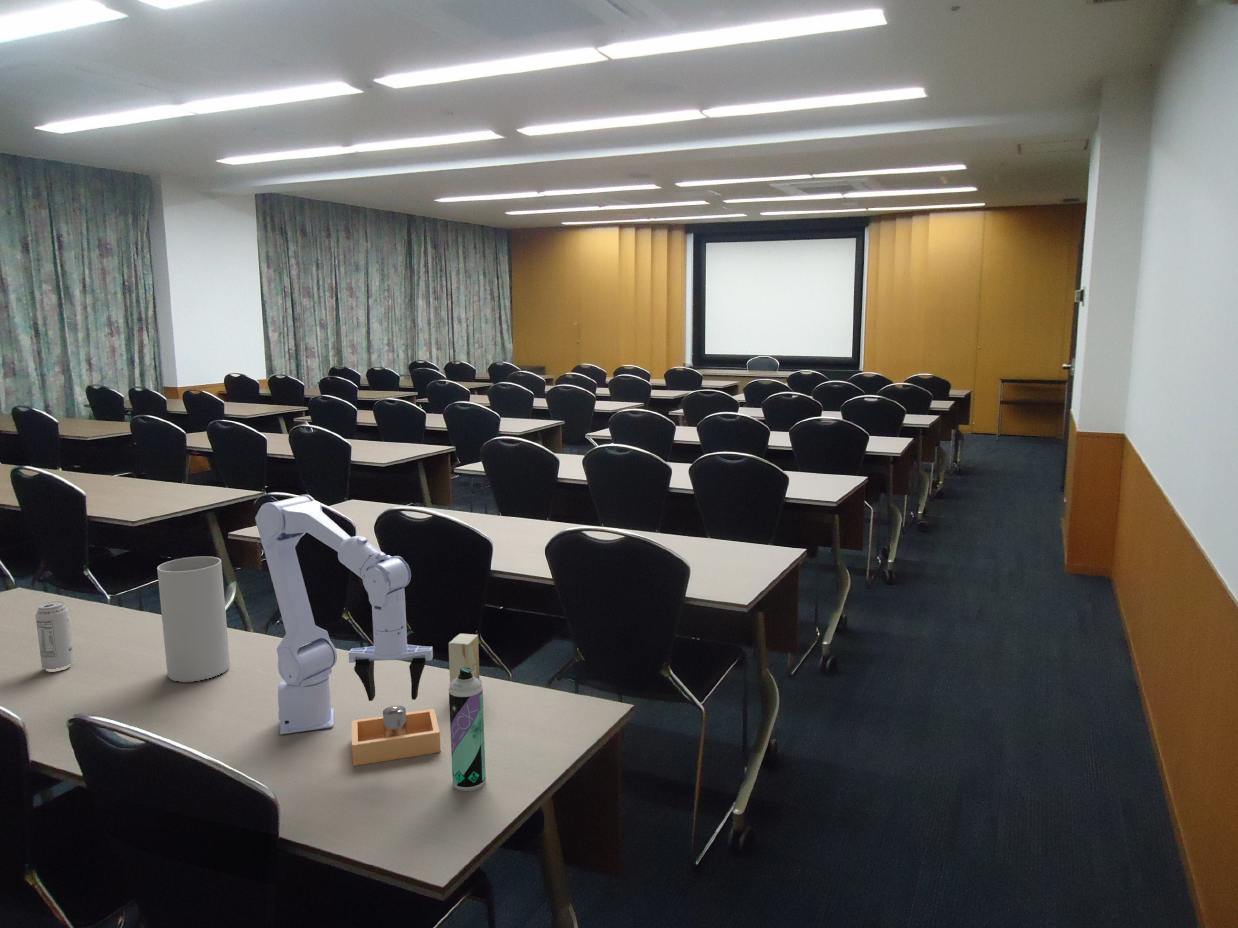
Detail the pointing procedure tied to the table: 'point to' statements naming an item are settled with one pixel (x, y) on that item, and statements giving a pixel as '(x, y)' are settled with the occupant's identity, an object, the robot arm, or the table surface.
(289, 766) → the table surface
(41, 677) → the table surface
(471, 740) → the spray can
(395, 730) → the cell
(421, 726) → the trough
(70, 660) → the energy drink can
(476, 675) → the skincare box
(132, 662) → the table surface
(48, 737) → the table surface
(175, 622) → the cylinder vase
